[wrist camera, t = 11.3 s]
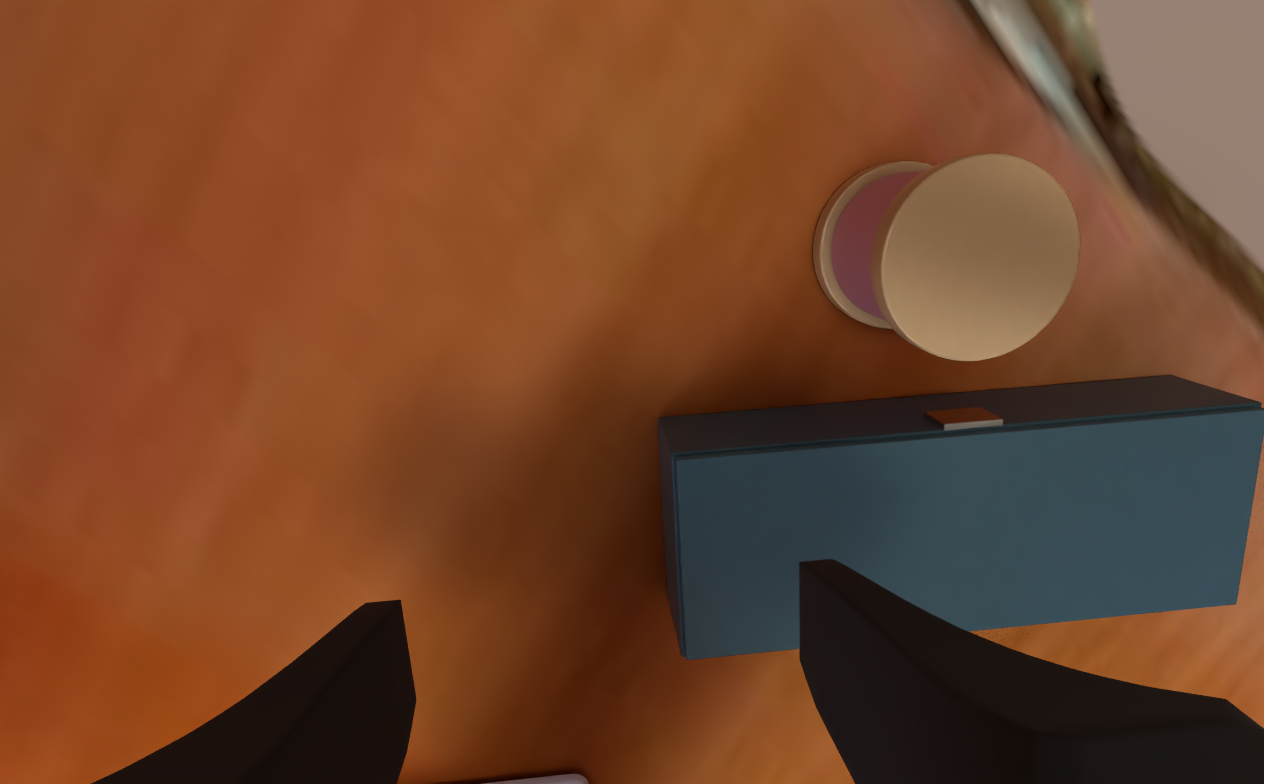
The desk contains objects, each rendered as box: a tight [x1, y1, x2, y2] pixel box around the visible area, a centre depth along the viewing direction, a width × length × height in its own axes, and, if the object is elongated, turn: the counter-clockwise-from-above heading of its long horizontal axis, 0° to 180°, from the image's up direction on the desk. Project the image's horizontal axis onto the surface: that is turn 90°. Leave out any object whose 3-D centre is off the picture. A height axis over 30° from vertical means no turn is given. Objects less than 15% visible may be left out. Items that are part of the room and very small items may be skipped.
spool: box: [813, 153, 1080, 361], centre depth 19 cm, size 5×5×5 cm
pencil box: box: [657, 375, 1264, 660], centre depth 22 cm, size 16×6×4 cm, turn 94°
